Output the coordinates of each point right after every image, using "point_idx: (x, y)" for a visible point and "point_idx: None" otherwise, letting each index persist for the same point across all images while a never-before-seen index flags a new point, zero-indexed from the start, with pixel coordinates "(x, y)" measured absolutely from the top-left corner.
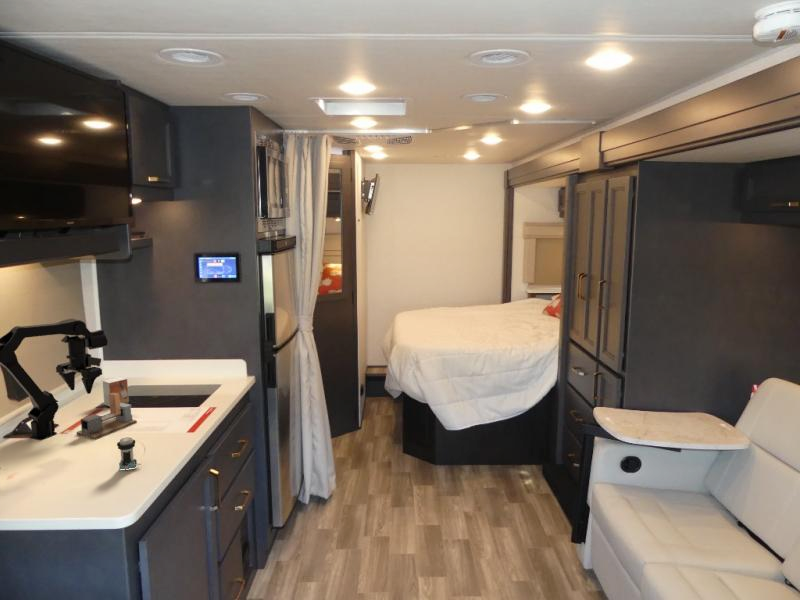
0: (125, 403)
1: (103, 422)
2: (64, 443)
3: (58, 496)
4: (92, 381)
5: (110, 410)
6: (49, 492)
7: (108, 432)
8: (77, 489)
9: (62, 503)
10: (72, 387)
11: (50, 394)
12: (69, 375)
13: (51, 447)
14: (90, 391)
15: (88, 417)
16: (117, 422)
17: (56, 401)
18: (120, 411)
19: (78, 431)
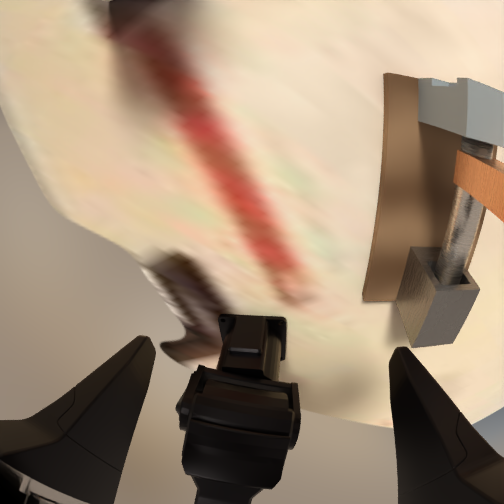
0: (500, 91)
1: (390, 175)
2: (377, 343)
3: (484, 405)
4: (471, 455)
5: (467, 191)
6: (470, 409)
7: (473, 245)
8: (499, 390)
9: (493, 405)
10: (143, 368)
11: (270, 485)
12: (88, 478)
13: (362, 366)
14: (414, 364)
15: (433, 324)
16: (451, 151)
17: (288, 443)
18: (501, 162)
19: (366, 294)
